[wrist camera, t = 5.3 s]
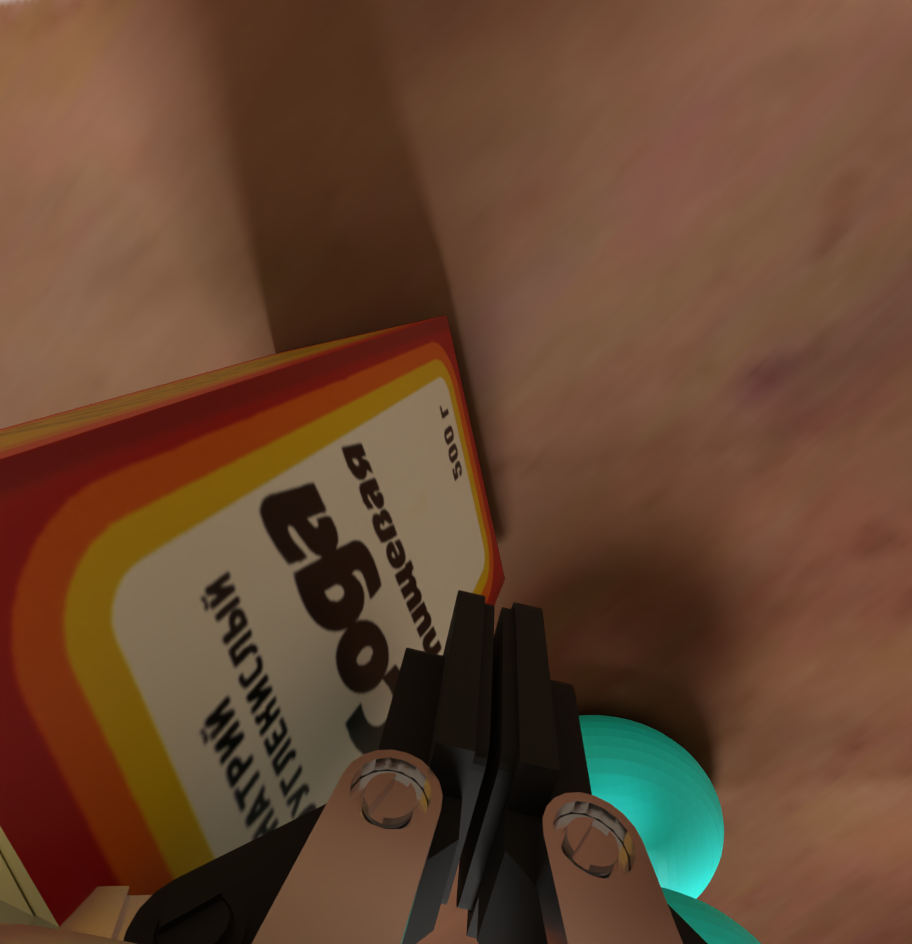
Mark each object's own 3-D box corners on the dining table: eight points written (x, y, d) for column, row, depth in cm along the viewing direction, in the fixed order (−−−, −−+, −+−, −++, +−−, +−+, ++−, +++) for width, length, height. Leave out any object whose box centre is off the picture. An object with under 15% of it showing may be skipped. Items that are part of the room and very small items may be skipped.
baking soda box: (275, 353, 20) (-581, 588, 6) (446, 315, 18) (-254, 540, 4) (348, 587, 23) (-124, 1138, 9) (504, 578, 21) (222, 1291, 7)
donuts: (840, 973, 14) (828, 1212, 17) (705, 690, 23) (713, 874, 26) (428, 975, 15) (483, 1195, 18) (460, 707, 24) (493, 880, 27)
